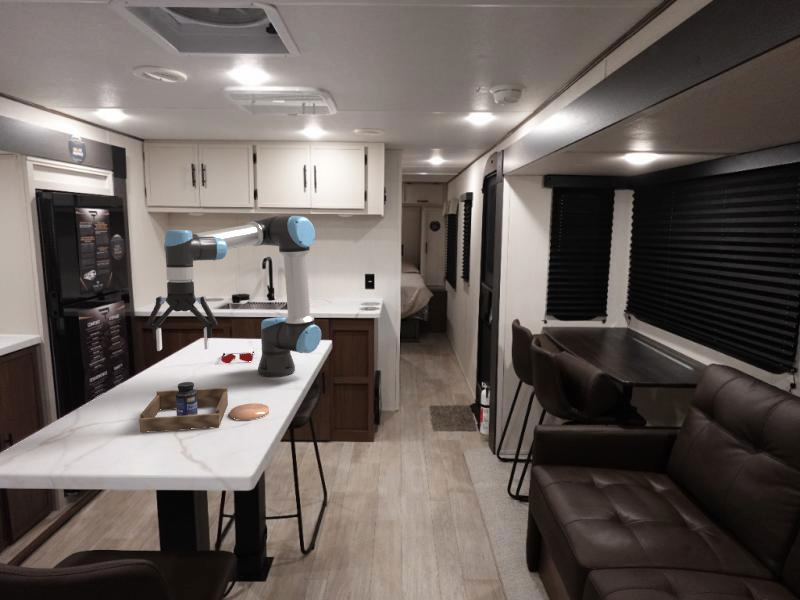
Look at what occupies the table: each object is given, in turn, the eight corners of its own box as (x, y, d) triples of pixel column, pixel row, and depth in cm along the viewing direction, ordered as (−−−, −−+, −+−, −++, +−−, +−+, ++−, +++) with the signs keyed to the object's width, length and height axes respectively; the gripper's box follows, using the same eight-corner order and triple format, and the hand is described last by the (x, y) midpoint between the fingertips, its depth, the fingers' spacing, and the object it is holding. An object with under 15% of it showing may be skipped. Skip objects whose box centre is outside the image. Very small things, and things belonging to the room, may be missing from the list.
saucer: (269, 405, 165) (269, 402, 165) (268, 419, 154) (267, 415, 154) (232, 408, 163) (232, 404, 163) (228, 421, 151) (227, 418, 151)
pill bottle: (189, 422, 151) (188, 387, 149) (172, 420, 152) (170, 386, 150) (201, 414, 157) (200, 381, 155) (184, 413, 158) (183, 380, 156)
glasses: (220, 365, 216) (220, 354, 215) (223, 356, 232) (223, 346, 231) (253, 363, 220) (253, 352, 219) (254, 354, 235) (254, 344, 235)
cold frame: (227, 404, 166) (227, 387, 165) (219, 427, 147) (218, 408, 146) (158, 408, 162) (157, 391, 161) (139, 432, 142) (138, 412, 141)
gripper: (225, 279, 155) (227, 345, 157) (139, 279, 149) (143, 347, 152) (221, 281, 147) (224, 350, 150) (131, 282, 142) (135, 353, 145)
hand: (183, 349), depth 151 cm, fingers open, 13 cm apart
